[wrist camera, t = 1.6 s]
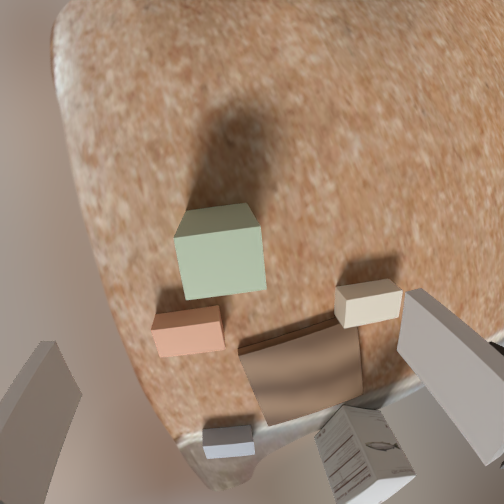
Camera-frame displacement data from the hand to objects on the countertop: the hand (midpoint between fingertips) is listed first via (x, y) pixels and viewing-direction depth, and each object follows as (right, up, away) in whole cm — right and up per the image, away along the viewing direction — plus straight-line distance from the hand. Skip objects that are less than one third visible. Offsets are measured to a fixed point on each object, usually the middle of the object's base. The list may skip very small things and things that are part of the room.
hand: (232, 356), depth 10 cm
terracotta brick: (-5, -3, +18) cm, 19 cm away
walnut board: (+7, -10, +22) cm, 25 cm away
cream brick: (+12, -1, +19) cm, 23 cm away
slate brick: (-2, -19, +24) cm, 31 cm away
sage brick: (-2, +5, +15) cm, 17 cm away
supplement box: (+14, -20, +26) cm, 36 cm away
